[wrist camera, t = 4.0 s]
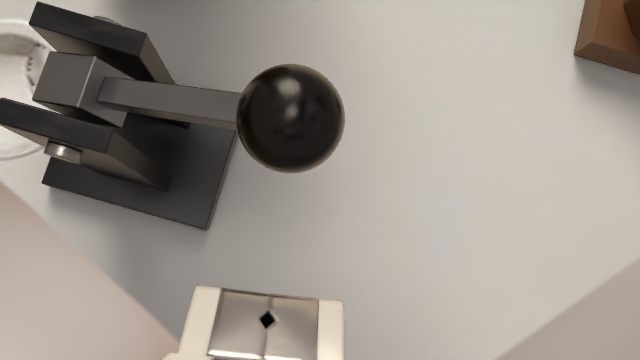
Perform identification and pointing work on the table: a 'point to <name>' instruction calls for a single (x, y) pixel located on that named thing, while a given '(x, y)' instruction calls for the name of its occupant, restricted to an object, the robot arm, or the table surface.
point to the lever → (208, 106)
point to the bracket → (124, 132)
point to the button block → (611, 33)
